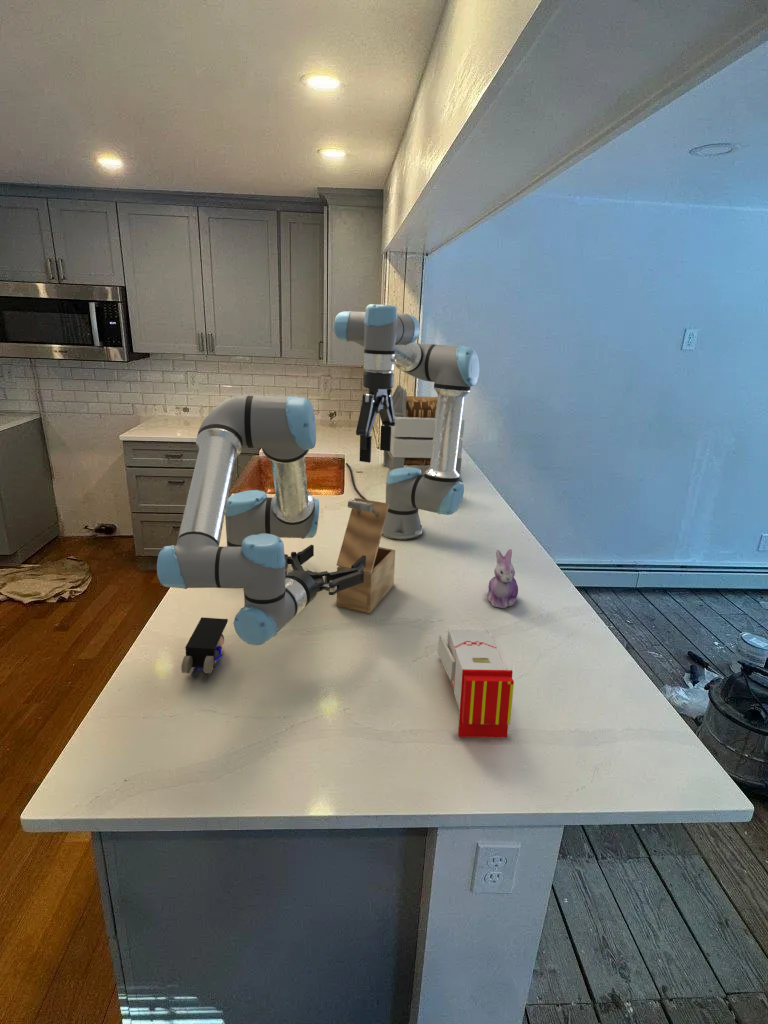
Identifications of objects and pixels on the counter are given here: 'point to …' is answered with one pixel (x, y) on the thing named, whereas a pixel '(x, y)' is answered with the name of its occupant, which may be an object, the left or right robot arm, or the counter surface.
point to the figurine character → (204, 646)
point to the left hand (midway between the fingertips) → (337, 555)
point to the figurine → (503, 582)
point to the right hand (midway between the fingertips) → (375, 455)
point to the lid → (363, 533)
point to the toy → (478, 682)
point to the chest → (370, 584)
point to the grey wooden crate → (414, 431)
